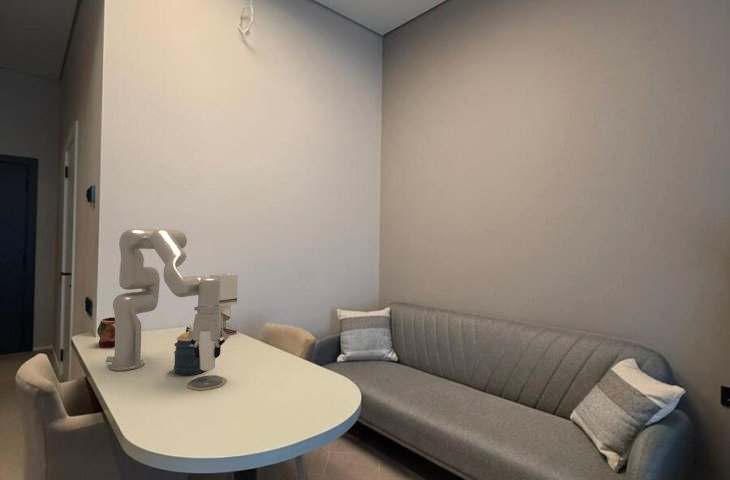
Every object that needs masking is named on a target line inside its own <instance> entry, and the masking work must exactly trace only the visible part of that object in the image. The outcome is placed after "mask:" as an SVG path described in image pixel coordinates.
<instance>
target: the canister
mask: <svg viewBox="0 0 730 480" xmlns="http://www.w3.org/2000/svg"><path fill="white" fill-rule="evenodd" d="M191 332H193V329H190V330H189V332H188V333H186V332H184V333H182V334H180V335H179V336H177V338H176V340H177V341H176V342H175V343H174V346H175V351H174V352H173V354H174V361H173V363H174V364H173V373H174V374H175V375H177V376H183V377H185V376H187V377H188V376H194V375H195V376H196V375H199V374H202V373H205V372H206V371H203V370H201V369H200V357H198V358H196V355H195V347H194V345H193V344H192V343H191V341H189V340H188V339H187V336H188V335H189V334H190V333H191Z"/></svg>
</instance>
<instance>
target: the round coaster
mask: <svg viewBox="0 0 730 480" xmlns="http://www.w3.org/2000/svg"><path fill="white" fill-rule="evenodd" d="M227 382H228V381H227V378H226V377H223V376H220V375H215V374H213V375H212V374H210V375H202V376H198V377H196V378H194V379H191V380H190V381H188V382H187V384H186V387H187V388H188V389H189V390H192V391H209V390H215V389H217V388H220V387H223V386H224V385H226V384H227Z"/></svg>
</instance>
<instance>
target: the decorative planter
mask: <svg viewBox="0 0 730 480" xmlns="http://www.w3.org/2000/svg"><path fill="white" fill-rule="evenodd" d="M96 332H97V335H98V337H99V340H98V347H100V348H101V347H102V348H101V349H106V348H107V347H108V348H115V316H114V317H106V318H102V319H101V320H100V323H99V325H98V327H97V330H96ZM108 348H107V349H108Z"/></svg>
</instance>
